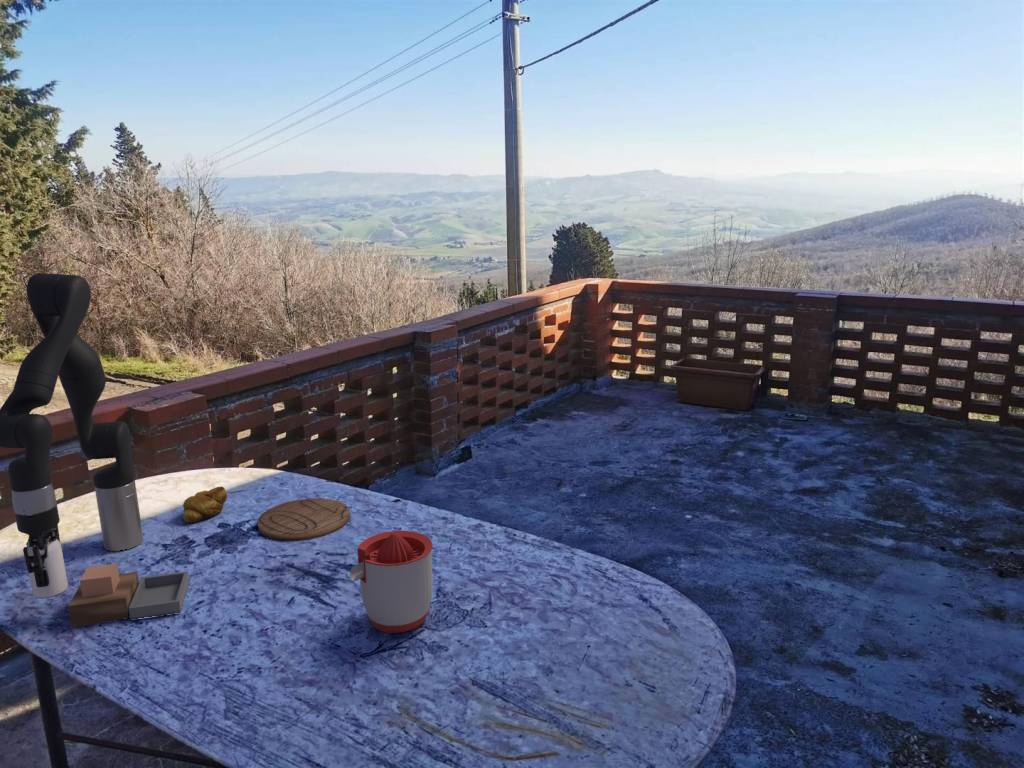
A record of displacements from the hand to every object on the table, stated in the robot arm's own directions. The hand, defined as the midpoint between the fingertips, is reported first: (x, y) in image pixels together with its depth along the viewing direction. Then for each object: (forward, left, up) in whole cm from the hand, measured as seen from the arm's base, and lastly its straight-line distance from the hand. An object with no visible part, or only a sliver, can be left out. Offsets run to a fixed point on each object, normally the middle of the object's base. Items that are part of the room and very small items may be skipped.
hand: (48, 577), depth 157 cm
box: (0, +21, -9) cm, 23 cm away
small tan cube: (0, +10, -4) cm, 11 cm away
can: (0, 0, -3) cm, 3 cm away
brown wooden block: (0, +10, -9) cm, 14 cm away
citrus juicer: (+23, +71, -9) cm, 75 cm away
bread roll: (-47, +25, -9) cm, 54 cm away
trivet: (-35, +53, -10) cm, 64 cm away
